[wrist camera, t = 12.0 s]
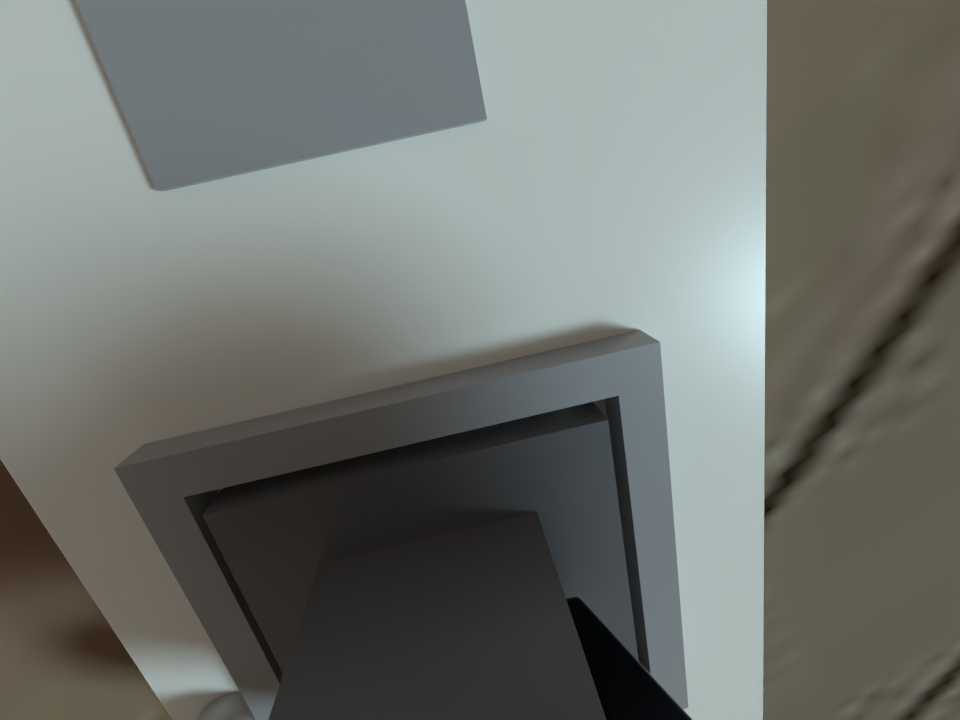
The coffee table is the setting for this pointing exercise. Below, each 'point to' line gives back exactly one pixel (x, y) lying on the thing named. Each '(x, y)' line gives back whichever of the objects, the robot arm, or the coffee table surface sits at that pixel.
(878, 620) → the coffee table surface
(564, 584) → the plug
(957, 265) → the coffee table surface
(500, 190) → the power strip
